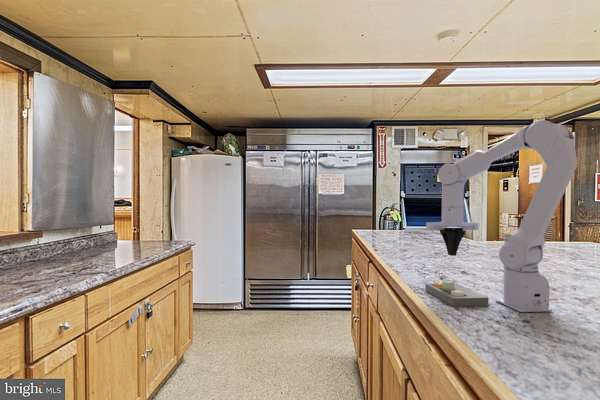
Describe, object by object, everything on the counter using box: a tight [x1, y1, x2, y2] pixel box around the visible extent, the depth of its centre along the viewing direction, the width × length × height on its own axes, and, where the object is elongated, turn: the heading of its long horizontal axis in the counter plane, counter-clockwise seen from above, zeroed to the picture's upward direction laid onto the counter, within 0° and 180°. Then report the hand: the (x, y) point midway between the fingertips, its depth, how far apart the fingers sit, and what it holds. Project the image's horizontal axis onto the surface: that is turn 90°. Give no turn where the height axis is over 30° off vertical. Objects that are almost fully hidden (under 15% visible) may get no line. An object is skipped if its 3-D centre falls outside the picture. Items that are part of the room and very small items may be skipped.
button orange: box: [433, 281, 442, 288], centre depth 102 cm, size 3×3×2 cm
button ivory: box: [451, 290, 464, 296], centre depth 93 cm, size 3×3×2 cm
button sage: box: [442, 280, 456, 292], centre depth 98 cm, size 3×3×2 cm
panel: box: [424, 282, 489, 308], centre depth 97 cm, size 15×9×2 cm, turn 6°
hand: (452, 255), depth 106 cm, fingers closed
